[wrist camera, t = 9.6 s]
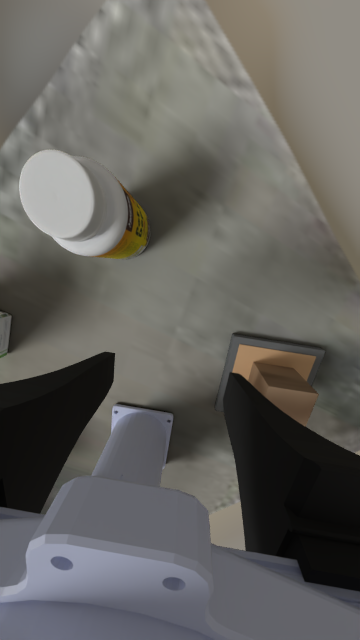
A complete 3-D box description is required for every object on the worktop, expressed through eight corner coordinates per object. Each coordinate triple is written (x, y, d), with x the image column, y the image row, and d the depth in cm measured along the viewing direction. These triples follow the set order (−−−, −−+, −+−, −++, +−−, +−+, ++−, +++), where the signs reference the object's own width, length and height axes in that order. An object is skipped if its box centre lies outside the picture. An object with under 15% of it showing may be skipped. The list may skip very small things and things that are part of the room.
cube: (281, 401, 23) (302, 433, 18) (243, 395, 23) (256, 425, 19) (293, 367, 21) (318, 394, 17) (253, 361, 22) (268, 386, 17)
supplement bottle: (160, 247, 20) (128, 231, 10) (112, 267, 21) (39, 270, 11) (138, 189, 18) (76, 103, 8) (88, 212, 19) (-22, 159, 9)
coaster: (292, 419, 24) (296, 424, 24) (214, 406, 25) (215, 411, 24) (320, 347, 22) (326, 351, 21) (232, 333, 22) (234, 336, 21)
